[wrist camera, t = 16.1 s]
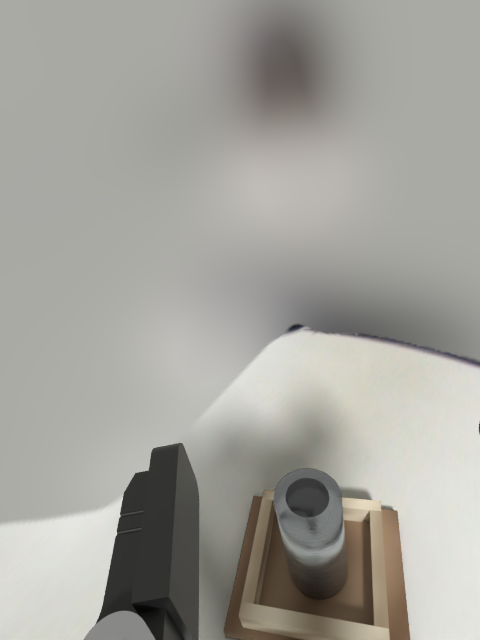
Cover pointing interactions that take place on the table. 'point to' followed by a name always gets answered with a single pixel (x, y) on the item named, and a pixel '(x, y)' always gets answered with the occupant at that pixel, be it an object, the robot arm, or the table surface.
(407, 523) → the table surface
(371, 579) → the wooden tray
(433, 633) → the table surface
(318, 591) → the steel tube
